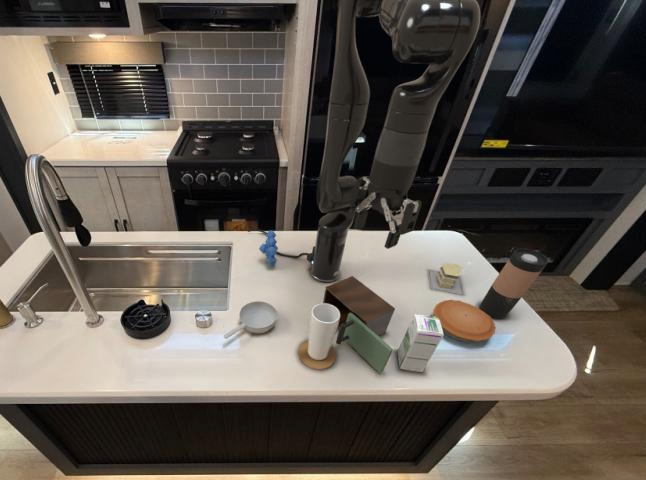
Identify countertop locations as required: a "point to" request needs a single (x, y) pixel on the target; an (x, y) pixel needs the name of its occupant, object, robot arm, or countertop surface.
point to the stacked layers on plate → (446, 278)
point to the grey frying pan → (256, 318)
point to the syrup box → (419, 342)
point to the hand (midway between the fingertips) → (373, 237)
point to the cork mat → (312, 362)
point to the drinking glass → (322, 330)
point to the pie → (464, 321)
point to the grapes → (270, 248)
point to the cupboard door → (365, 342)
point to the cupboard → (359, 304)
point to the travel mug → (513, 282)
